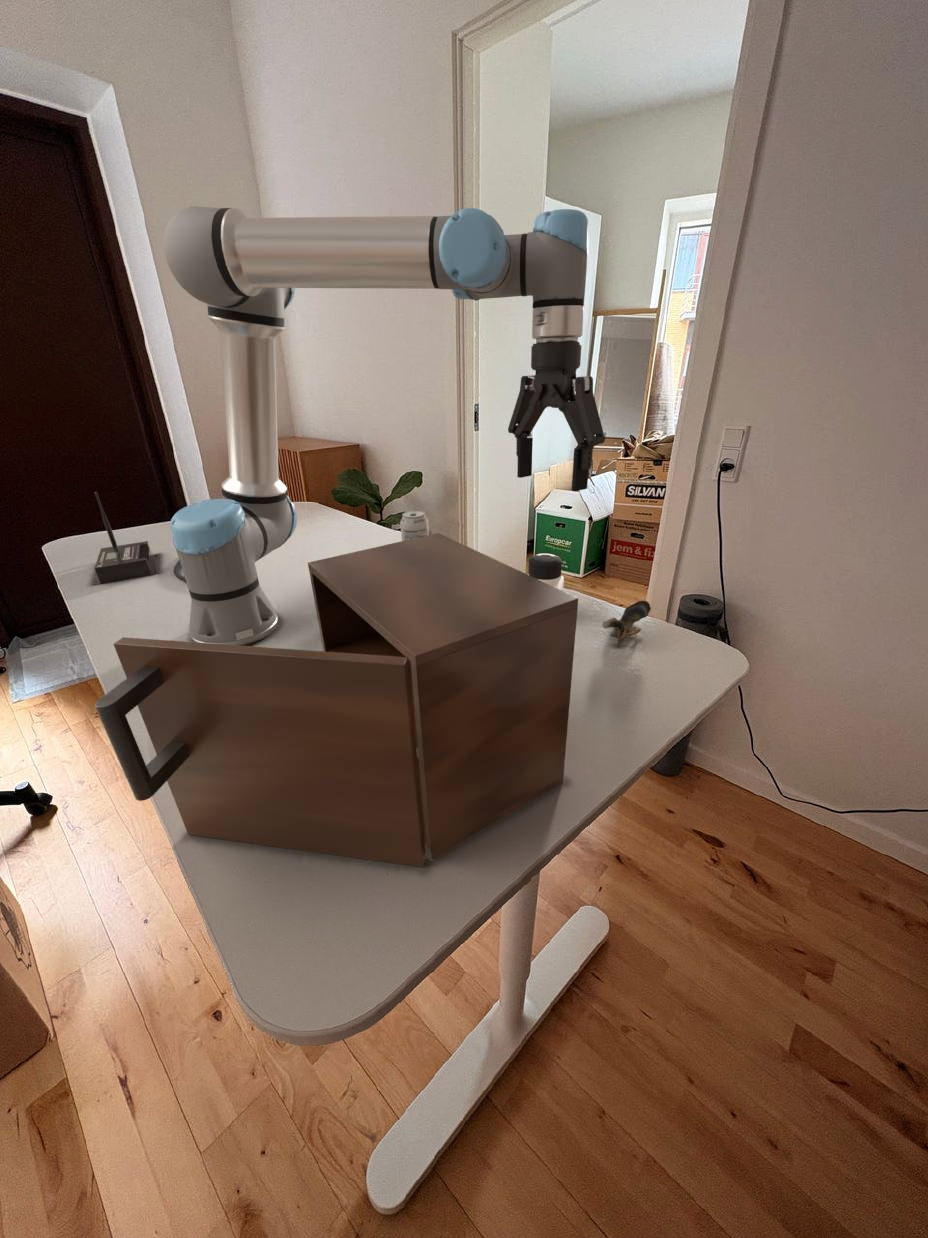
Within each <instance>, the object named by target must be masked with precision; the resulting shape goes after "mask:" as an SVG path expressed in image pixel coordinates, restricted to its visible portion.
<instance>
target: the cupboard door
mask: <svg viewBox="0 0 928 1238" xmlns="http://www.w3.org/2000/svg"><path fill="white" fill-rule="evenodd" d="M113 647H114V649H115V652H116V654H117V657H118V659H119V662H120V664H121V667H122V670H123V672H124V674H125V679H124V680H123V681H122V682H120V683H119V684H117V685H116V686H115V687H114V688H112V689H111V690H109V691H107V693H106V694H104V695H103V696H101V697H100V698H98V700H97V701H95V702H94V708H95V710H96V712H97V715H98V717H99V719H100V722H101V724H102V726H103V728H104V731H105V733H106V735H107V737H108V740H109V742H110V744H111V747H112V749H113V751H114V753H115V755H116V758H117V760H118V763H119V765H120V767H121V769H122V771H123V774H124V776H125V778H126V780H127V783H128V785H129V788H130V790H131V792H132V794H133V797H134V799H135V800H136V801H139V802H143V801H146V800H148V799H149V800H150V799H151V798H152V797H153V796H154V795H156V793H157V792H158V791H159V790H160V789H161V788H162V787H163V786H164V784H165V783H166V782H167V784H168V787H169V790H170V793H171V796H172V797H173V800H174V802H175V806H176V808H177V810H178V813H179V815H180V818H181V820H182V822H183V826H184V828H185V831H186V833H187V835H188V836H194V837H195V836H196V837H202V838H209V839H210V838H211V839H218V840H222V841H223V840H224V841H231V842H239V843H245V844H253V845H259V846H267V847H274V848H283V849H289V850H295V851H303V852H308V853H309V852H310V853H317V854H325V855H331V856H338V857H339V856H340V857H346V858H354V859H361V860H367V861H373V862H374V861H375V862H382V863H387V864H388V863H389V864H395V865H404V866H411V867H416V868H417V867H418V868H424V865H425V861H426V859H427V857H426V850H425V843H424V832H423V821H422V810H421V799H420V788H419V776H418V765H417V754H416V743H415V732H414V720H413V709H412V698H411V687H410V676H409V665H408V658H407V657H395V656H381V655H367V654H353V653H338V652H324V651H323V650H308V649H294V648H280V647H265V646H251V645H245V646H239V645H225V644H211V643H197V642H193V641H181V640H180V641H179V640H169V639H168V640H167V639H153V638H152V639H151V638H140V637H139V638H138V637H137V638H136V637H121V638H120V639H118V640H117V641H116V642H113ZM136 707H137V708H138V710H139V713H140V715H141V718H142V721H143V723H144V726H145V729H146V731H147V734H148V736H149V739H150V742H151V744H152V746H153V749H154V752H155V754H156V755H155V756H154V757H153V759H151V760H150V761H149V762H148V763H147V764H146V762H145V760H144V757H143V755H142V752H141V750H140V747H139V744H138V743H137V740H136V737H135V735H134V733H133V731H132V727H131V725H130V723H129V720H128V718H127V716H126V715H128V714H129V713H130V712H131V711H132V710H134V709H135V708H136Z"/></svg>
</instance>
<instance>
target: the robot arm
mask: <svg viewBox="0 0 928 1238" xmlns="http://www.w3.org/2000/svg"><path fill="white" fill-rule="evenodd" d="M163 251H164V256H165V260H166V263H167V265H168V268H169V271H170V272H171V274H172V276H173V277H174V279H175V281H176V282H177V283H178V285H180V286H181V288H182V289H183V290H185V292H186V293H188V294H189V295H190V296H191V297H193V298H194V299H195V300H198V301H200V302H202V303H204V304H206V305H207V316H208V319H209V320H210V321H211V322H212V324H213V325H215V326H216V328H217V329H218V331H219V340H220V341H219V342H220V356H221V371H222V384H223V386H222V387H223V399H224V415H225V429H226V443H227V444H226V445H227V456H228V457H227V458H228V472H229V473H228V474H229V475H228V477H226V479H224V481H222V482H221V497H222V498H211V499H206V500H202V501H201V502H197V503H196V502H194V503H191V504H188V505H187V506H184V507H183V508H181V509H179V510H178V511H176V512H175V514H174V515H173V516H172V518H171V519H170V530H171V534H172V543H173V546H174V548H175V551H176V553H177V557H178V561H177V562H176V564H175V565H174V567H173V570H172V571H173V575H174V577H176V578H177V579H179V580H181V581H183V582H185V583H186V586H187V589H188V593H189V596H190V600H191V602H190V615H189V626H188V627H189V628H188V629H189V636H190V638H191V642H197V643H211V644H225V645H239V646H249V645H251V644H254V643H257V642H259V641H261V640H263V639H265V638H267V637H268V636H269V635H271V634H272V633H273V632H274V631H275V630H276V629H277V628H278V625H279V618H278V615H277V612H276V610H275V609H276V608H274V606H273V604H272V602H271V601H270V600H269V598H268V596H267V595H266V594H265V592H264V590H263V589H262V587H261V584H260V581H259V576H258V571H257V566H256V563H257V562H258V561H259V560H261V559H262V558H265V556H267V555H268V554H270V553H272V552H273V551H275V550H277V549H279V548H281V547H282V546H283V545H284V544H285V543H286V542H287V541H288V540H289V539H290V538H291V537H292V536H293V534H294V532H295V530H296V528H297V523H298V513H297V508H296V506H295V504H294V502H292V501H291V499H290V497H289V495H288V488H287V485H286V484H285V483H284V482H283V481H282V480H281V479H280V478H279V443H278V440H279V439H278V403H277V401H278V400H277V397H278V396H277V361H276V359H277V358H276V339H277V337H278V336H279V335H280V334H281V333H282V332H283V331H284V330H285V310H286V309H287V307H288V306H289V305H290V304H291V302H293V299H294V296H295V292H296V289H406V290H407V289H410V290H411V289H412V290H413V289H417V290H419V289H422V290H424V289H425V290H428V289H431V290H432V289H433V290H435V289H436V290H451V292H452V294H453V296H454V297H455V299H456V298H457V299H458V300H470V301H471V300H472V301H480V300H486V299H487V300H489V299H500V298H502V299H503V298H513V297H528V296H529V297H531V296H532V318H531V319H532V321H531V322H532V323H531V325H532V326H531V338H532V339H533V340H535V343H532V345H531V353H530V368H531V369H532V370H533V371H535V374H534V375H533V374H531V375H522V376H521V378H520V386H519V392H518V396H517V399H516V402H515V405H514V408H513V411H512V413H511V418H510V421H509V425H508V428H507V431H508V433H509V434H513V435H514V437H515V439H516V451H515V452H516V454H515V455H516V457H517V472H516V473H517V475H516V477H517V478H526V477H531V476H533V442H534V439H533V437H532V436H533V434H532V431H533V430H534V428H535V426H536V425H537V423H538V421H539V420H540V418H541V416H542V415H543V413H544V411H545V410H546V409H547V408H553V409H558V411H560V412H561V413H562V415H563V416H564V419H565V420H566V422H567V424H568V427H569V428H570V431H571V434H572V435H573V437H574V439H575V441H576V443H577V445H576V446H575V447H574V448H573V461H572V476H571V477H572V478H571V491H572V492H578V491H584V490H587V489H588V483H589V482H588V481H589V470H591V469H592V466H593V454H594V448H595V447H596V446H598V445H601V444H604V443H605V442H606V437H605V433H604V430H603V425H602V422H601V418H600V414H599V410H598V406H597V403H596V399H595V395H594V378H593V376H592V375H587V376H586V375H585V376H577V370H578V369H579V368H580V367H581V363H582V362H581V361H582V348H583V347H582V345H583V344H582V343H581V341H579V338H581V337H582V336H583V335H584V334H583V331H584V309H585V295H586V294H585V293H586V285H587V284H586V281H587V270H588V269H587V268H588V256H589V255H588V254H589V218H588V216H587V215H586V213H584V212H583V211H581V210H578V209H574V208H573V209H571V208H561V209H554V210H551V211H550V210H548V211H544V212H541V213H539V214H538V215H536V217H535V219H534V226H533V229H532V231H531V232H527V233H526V232H525V233H518V234H517V233H516V234H515V233H514V234H505V232H504V230H503V228H502V227H501V225H500V223H499V222H498V221H497V220H496V219H495V217H493V215H491V214H488V213H487V212H486V211H484V210H482V209H479V208H476V207H465V208H462V209H459V210H457V211H455V212H454V213H453V214H451V215H440V216H437V215H436V216H435V215H421V216H420V215H415V216H414V215H412V216H411V215H409V216H408V215H403V216H402V215H400V216H398V215H397V216H395V215H394V216H391V215H390V216H312V217H311V216H308V217H307V216H306V217H305V216H304V217H300V216H299V217H298V216H297V217H249V216H248V214H246V213H245V211H243V210H242V209H241V208H237V207H209V206H207V207H206V206H196V205H195V206H189V207H185V208H183V209H181V210H179V211H177V212H176V213H175V214H174V215H173V216H172V217H171V218H170V220H169V221H168V223H167V225H166V228H165V230H164V235H163ZM180 567H181V570H182V573H183V575H181V574H180V573H179V568H180Z"/></svg>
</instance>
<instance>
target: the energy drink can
mask: <svg viewBox="0 0 928 1238" xmlns="http://www.w3.org/2000/svg"><path fill="white" fill-rule="evenodd" d="M399 525H400V535H401V537H400V538H401V541H405V540H410V539H414V538H419V537H423V536H427V535H430V528H429V519H428V518H427V515H426V512H425V511H423V510H410V511H408V510H407V511H404V512H403V513H402V518H401V519H400V522H399Z"/></svg>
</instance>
